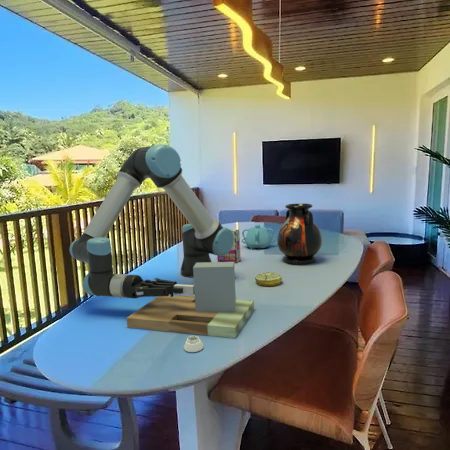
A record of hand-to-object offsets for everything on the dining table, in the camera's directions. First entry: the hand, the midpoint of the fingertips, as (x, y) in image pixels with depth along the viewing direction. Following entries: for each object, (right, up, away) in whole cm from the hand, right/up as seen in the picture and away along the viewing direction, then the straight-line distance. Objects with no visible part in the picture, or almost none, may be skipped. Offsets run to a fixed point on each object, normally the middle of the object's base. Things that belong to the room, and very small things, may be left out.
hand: (193, 290), depth 114 cm
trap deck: (0, -9, +3) cm, 10 cm away
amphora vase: (+46, +2, +69) cm, 83 cm away
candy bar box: (+12, +1, +75) cm, 76 cm away
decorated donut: (+27, -4, +35) cm, 45 cm away
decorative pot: (+29, +7, +106) cm, 111 cm away
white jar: (+1, -12, -18) cm, 22 cm away
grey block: (+7, -6, +2) cm, 9 cm away
